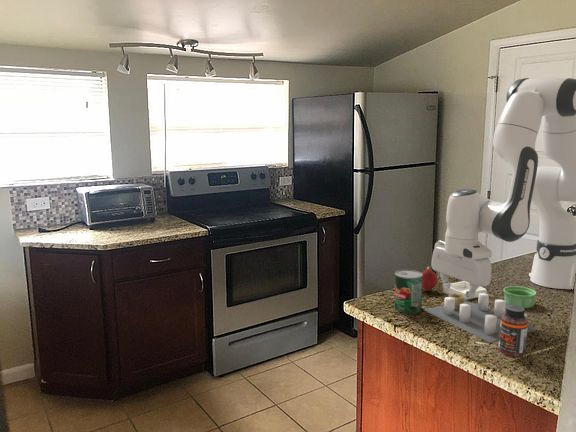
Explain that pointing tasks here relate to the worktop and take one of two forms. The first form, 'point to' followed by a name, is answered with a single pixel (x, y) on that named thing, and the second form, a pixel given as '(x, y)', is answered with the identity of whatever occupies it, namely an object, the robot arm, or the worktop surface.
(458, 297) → the tan faceted block
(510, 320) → the supplement bottle
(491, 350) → the worktop surface
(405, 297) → the canned tomato
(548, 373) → the worktop surface
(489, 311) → the mat
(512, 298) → the ramekin
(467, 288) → the ceramic dish
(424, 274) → the pomegranate
